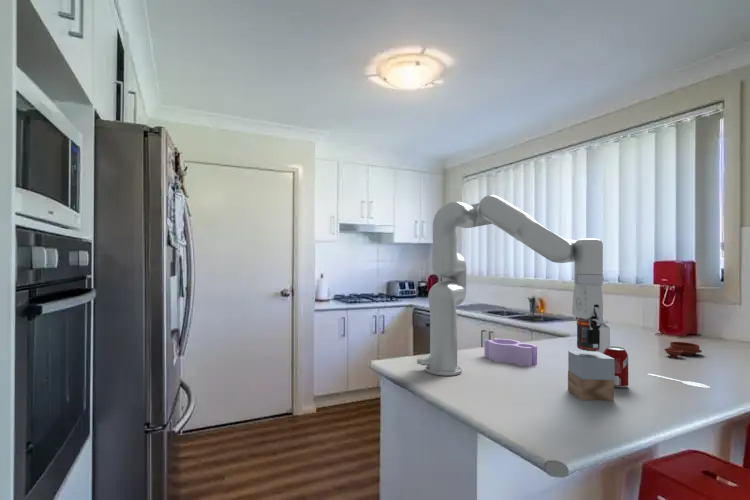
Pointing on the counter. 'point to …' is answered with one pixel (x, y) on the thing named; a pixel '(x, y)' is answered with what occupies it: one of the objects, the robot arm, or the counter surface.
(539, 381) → the counter surface
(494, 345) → the clip
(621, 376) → the soda can
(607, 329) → the milk carton
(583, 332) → the supplement bottle
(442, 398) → the counter surface
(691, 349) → the pottery
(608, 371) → the tower top block
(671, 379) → the spoon
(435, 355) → the robot arm
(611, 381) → the tower base block
